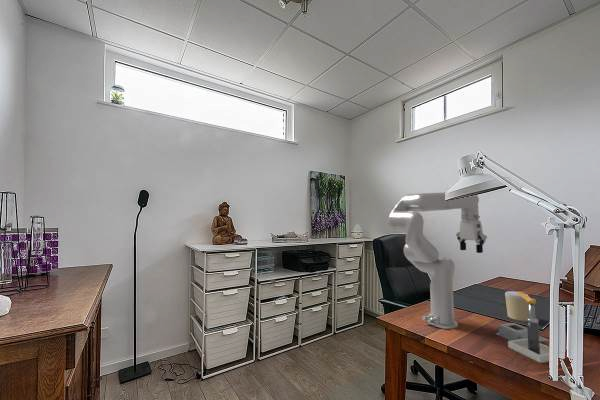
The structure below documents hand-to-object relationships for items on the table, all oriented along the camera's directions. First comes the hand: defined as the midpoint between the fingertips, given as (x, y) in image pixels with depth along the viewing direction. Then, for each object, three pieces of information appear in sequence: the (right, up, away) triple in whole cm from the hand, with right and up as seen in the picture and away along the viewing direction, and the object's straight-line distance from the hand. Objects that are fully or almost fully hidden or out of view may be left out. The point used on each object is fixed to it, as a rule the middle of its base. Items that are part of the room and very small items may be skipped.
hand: (471, 251), depth 135 cm
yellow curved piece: (+13, -18, -18) cm, 28 cm away
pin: (-1, -30, -38) cm, 48 cm away
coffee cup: (+20, -32, -5) cm, 38 cm away
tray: (-1, -31, -38) cm, 49 cm away
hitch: (+5, -31, -25) cm, 40 cm away
